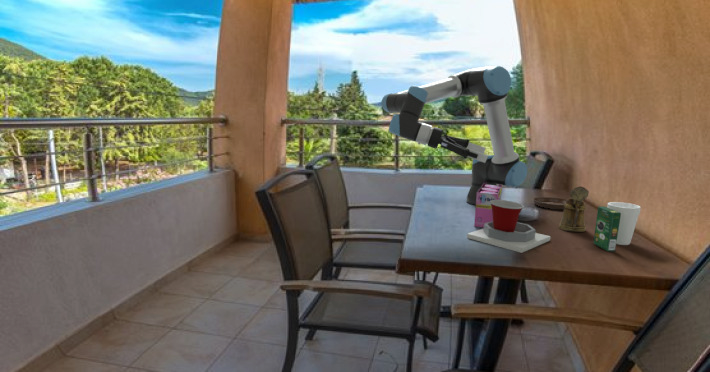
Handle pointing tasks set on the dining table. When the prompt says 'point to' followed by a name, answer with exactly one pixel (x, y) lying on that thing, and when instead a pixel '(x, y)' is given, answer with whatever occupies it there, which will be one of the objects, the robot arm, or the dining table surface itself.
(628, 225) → the foam cup
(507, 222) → the plastic cup
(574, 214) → the wooden mug
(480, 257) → the dining table surface
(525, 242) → the cup holder
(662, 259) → the dining table surface
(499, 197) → the gum box
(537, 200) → the plant saucer
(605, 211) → the coffee box
